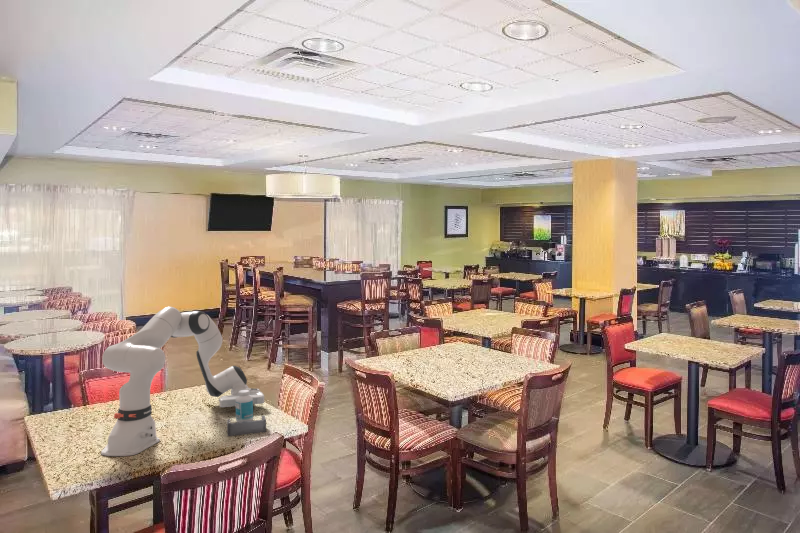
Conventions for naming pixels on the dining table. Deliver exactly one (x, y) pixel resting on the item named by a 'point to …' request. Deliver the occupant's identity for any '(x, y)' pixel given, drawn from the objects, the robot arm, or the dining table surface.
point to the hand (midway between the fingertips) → (243, 404)
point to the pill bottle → (244, 406)
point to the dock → (246, 427)
